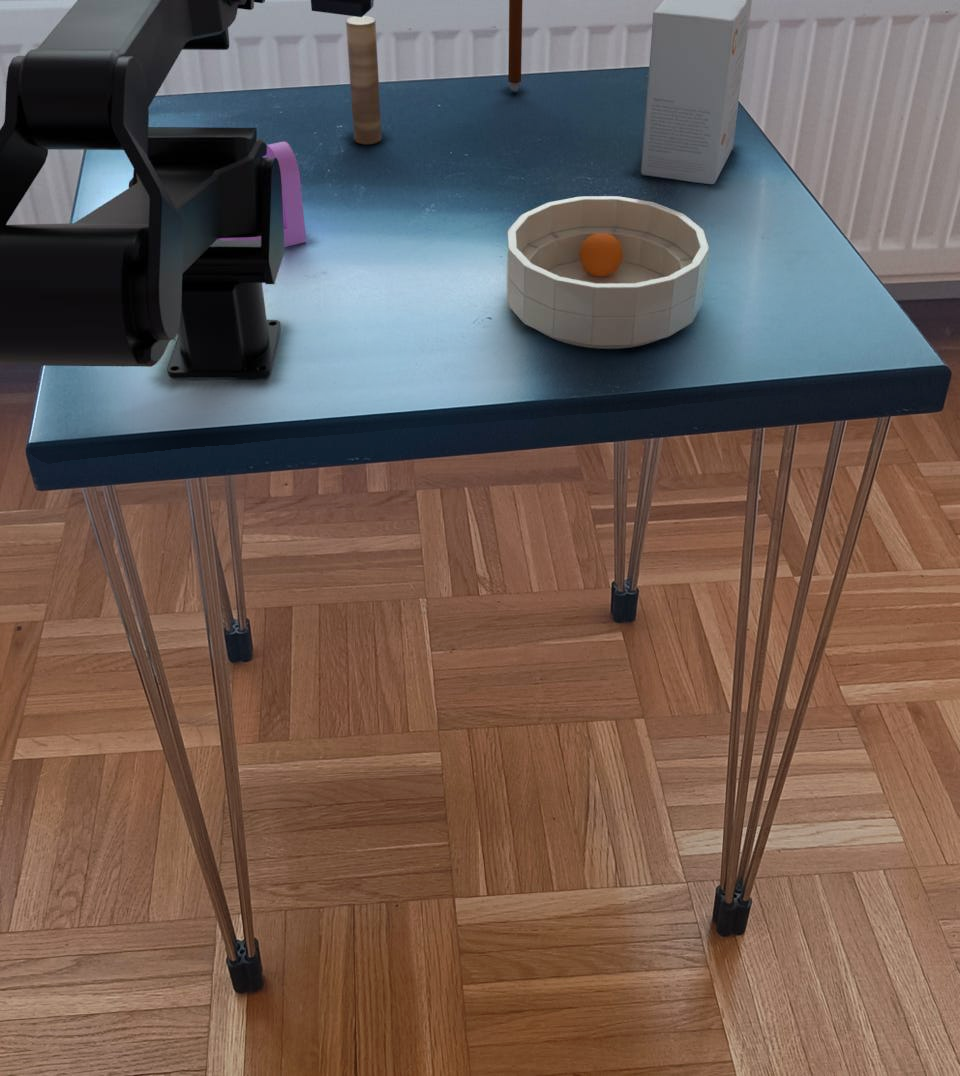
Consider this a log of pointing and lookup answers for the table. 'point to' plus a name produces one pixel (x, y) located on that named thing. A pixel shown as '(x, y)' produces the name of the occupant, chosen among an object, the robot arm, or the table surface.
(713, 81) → the small box
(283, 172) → the bracket
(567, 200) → the bowl
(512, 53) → the magnifying glass
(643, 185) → the table surface
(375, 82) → the stirring stick
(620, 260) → the ball
